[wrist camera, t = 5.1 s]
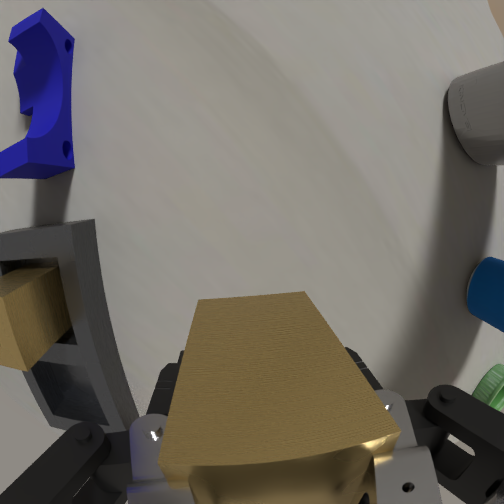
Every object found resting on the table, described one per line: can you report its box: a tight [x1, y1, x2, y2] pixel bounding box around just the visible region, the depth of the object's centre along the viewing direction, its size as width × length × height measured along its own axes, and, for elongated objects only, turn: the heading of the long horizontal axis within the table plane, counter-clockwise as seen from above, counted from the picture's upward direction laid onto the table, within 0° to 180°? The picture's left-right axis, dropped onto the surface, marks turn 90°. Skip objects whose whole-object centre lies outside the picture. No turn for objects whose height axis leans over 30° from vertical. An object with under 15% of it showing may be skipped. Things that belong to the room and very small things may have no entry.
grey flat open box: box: [0, 219, 139, 433], centre depth 17 cm, size 9×18×4 cm, turn 2°
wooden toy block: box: [158, 291, 401, 504], centre depth 8 cm, size 4×4×8 cm
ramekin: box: [472, 364, 504, 411], centre depth 25 cm, size 9×9×4 cm
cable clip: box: [0, 8, 75, 179], centre depth 12 cm, size 12×4×6 cm, turn 9°
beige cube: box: [0, 262, 72, 372], centre depth 14 cm, size 4×4×8 cm
